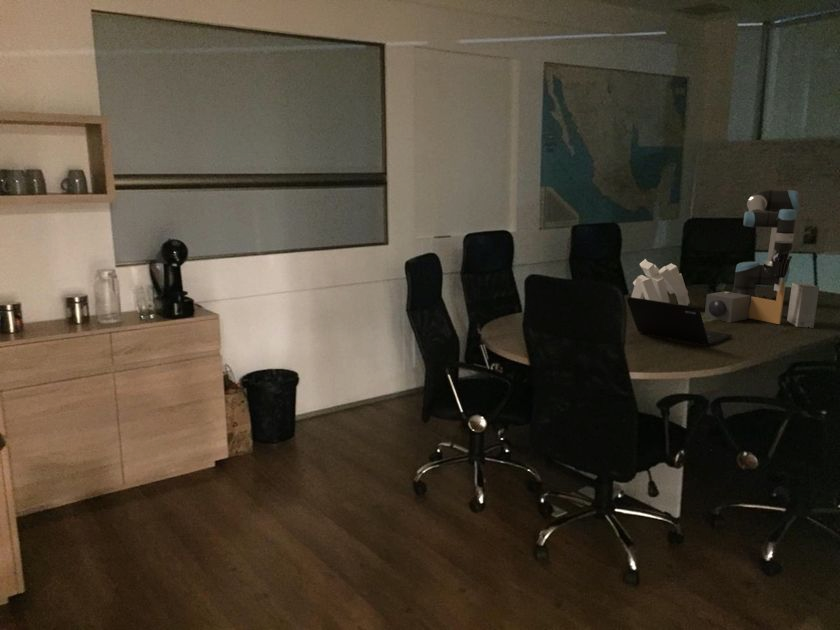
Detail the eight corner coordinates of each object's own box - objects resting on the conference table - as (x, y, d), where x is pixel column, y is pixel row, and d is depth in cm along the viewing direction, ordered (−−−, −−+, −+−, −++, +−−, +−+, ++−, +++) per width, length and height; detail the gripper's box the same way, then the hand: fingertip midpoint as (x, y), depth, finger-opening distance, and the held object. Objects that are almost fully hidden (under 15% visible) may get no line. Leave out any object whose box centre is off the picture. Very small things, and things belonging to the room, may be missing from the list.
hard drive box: (814, 328, 320) (819, 287, 316) (796, 327, 322) (802, 286, 317) (802, 321, 335) (808, 282, 331) (786, 320, 336) (791, 281, 332)
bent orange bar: (748, 317, 339) (753, 277, 334) (749, 317, 339) (754, 277, 335) (779, 324, 326) (784, 281, 321) (780, 324, 326) (785, 281, 322)
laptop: (732, 338, 299) (737, 296, 295) (694, 353, 274) (699, 307, 270) (663, 325, 323) (666, 286, 319) (622, 338, 298) (625, 295, 294)
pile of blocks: (654, 310, 384) (629, 256, 379) (705, 297, 363) (679, 239, 358) (633, 337, 360) (606, 280, 354) (686, 325, 339) (658, 264, 334)
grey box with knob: (721, 313, 351) (724, 290, 348) (747, 318, 339) (750, 294, 337) (702, 317, 340) (704, 293, 338) (728, 323, 329) (730, 297, 326)
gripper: (783, 243, 311) (776, 293, 316) (799, 242, 317) (792, 291, 322) (768, 241, 317) (761, 290, 322) (784, 240, 324) (777, 288, 329)
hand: (777, 290), depth 322 cm, fingers closed
